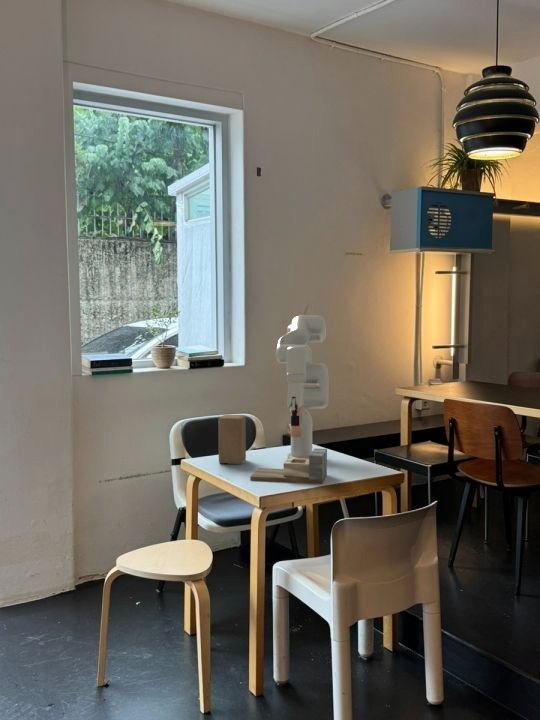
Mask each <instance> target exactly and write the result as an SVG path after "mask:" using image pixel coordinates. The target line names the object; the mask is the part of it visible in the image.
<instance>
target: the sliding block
mask: <svg viewBox="0 0 540 720" xmlns="http://www.w3.org/2000/svg"><path fill="white" fill-rule="evenodd" d="M283 469H284V476H289V477H309V459H303V458H288V457H287V459H286V460H285V461H284V462H283Z"/></svg>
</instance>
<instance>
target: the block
mask: <svg viewBox="0 0 540 720" xmlns="http://www.w3.org/2000/svg"><path fill="white" fill-rule="evenodd" d="M246 420H247V419H246V415H244V414H223V415H222V416H219V418H218V422H217V424H218V463H219V464H221V463H228V464H227V465H241V464H243V462H244V461H246V459H247V450H246V449H247V445H246V444H247V443H246V442H247V441H246V440H247V438H246V435H247V432H246V430H247V429H246V428H247V426H246V425H247V424H246V423H247V422H246Z"/></svg>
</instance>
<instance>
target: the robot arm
mask: <svg viewBox="0 0 540 720" xmlns="http://www.w3.org/2000/svg"><path fill="white" fill-rule="evenodd" d="M326 337H327V327H326V322H325V318H324V317H323V316H321V315H318V314H315V315H311V314H310V315H309V314H308V315H306V314H304V315H303V314H302V315H297V316H295V317H293V318H292V320H291V323H290V324H289V325H288V326H287V329H286V333H285V334H284V335H282V336H281V337H280V338H279V339H278V341H277V345H276V348H275V349H276V350H275V359H276V361H277V362H279V363H280V364H286V382H287V383H288V384H287V401H286V402H287V404H286V406H287V408H289V409H290V410H289V411H290V427H291V426H299V416H298V415H299V407H301V437H297V438H295V437H291V436H290V452H289V453H288V454H287V459H288V458H303V459H309V456H310V454H311V453H312V451H313V417H312V415H311V413H310V412H309V411H308V409H325V408H327V407H328V405H329V400H330V399H329V395H330V393H329V391H330V390H329V387H330V386H329V385H330V384H329V383H330V380H329V369H328V366H327V365H326V364H325V363H322V362H320V363H319V362H317V363H316V362H313V350H312V349H311V347H310V346H309V345H307V344H308V343H322V342H324V341H325V340H326V339H327V338H326ZM304 385H313V386H304ZM314 385H316V386H314ZM295 406H297V408H295ZM295 409H297V410H295Z"/></svg>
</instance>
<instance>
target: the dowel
mask: <svg viewBox="0 0 540 720" xmlns="http://www.w3.org/2000/svg"><path fill="white" fill-rule="evenodd" d="M295 408H297V406H295ZM295 410H297V409H295ZM298 416H299V426H291V425H290V438H291V437H295V438H297V437H301V407H299V415H298Z"/></svg>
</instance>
